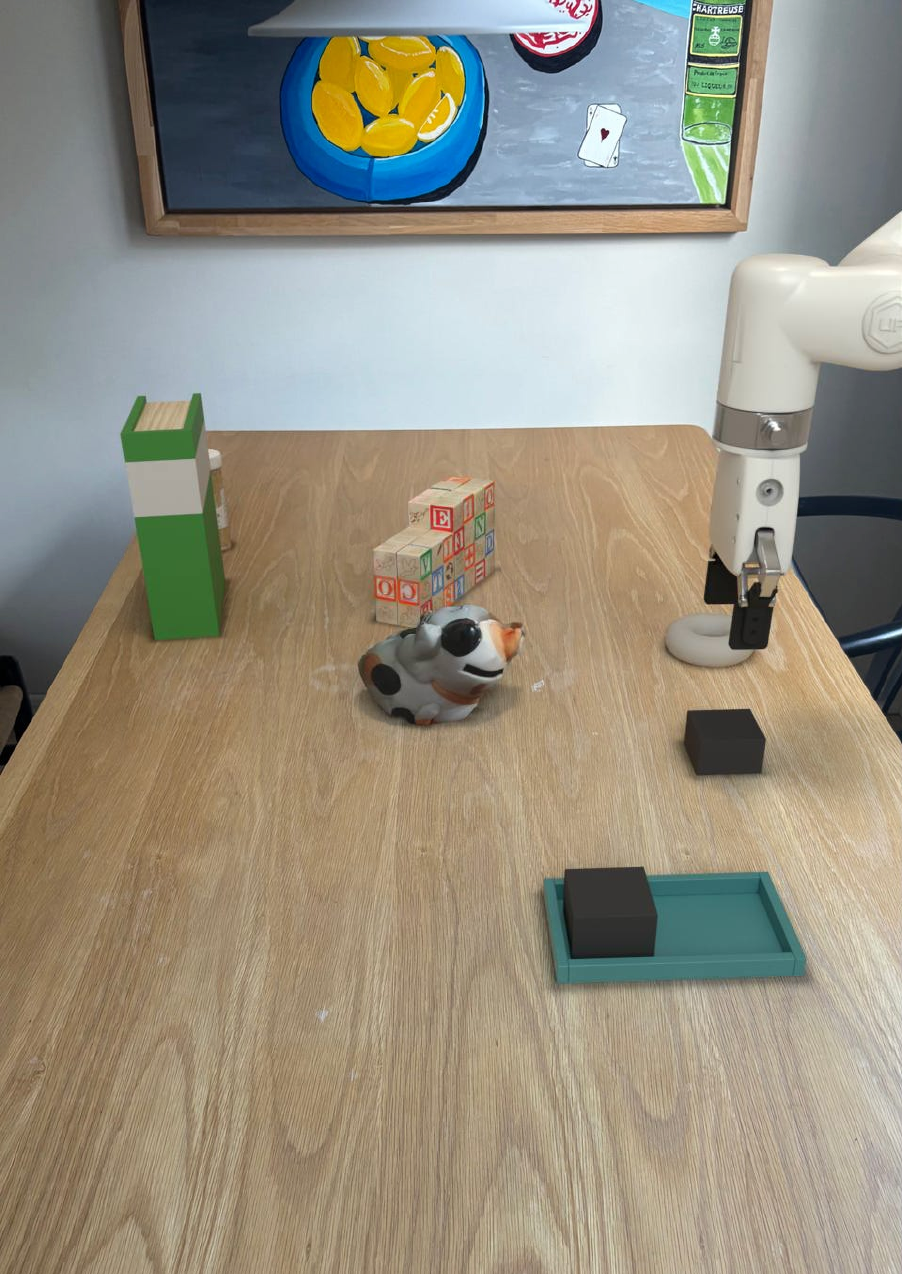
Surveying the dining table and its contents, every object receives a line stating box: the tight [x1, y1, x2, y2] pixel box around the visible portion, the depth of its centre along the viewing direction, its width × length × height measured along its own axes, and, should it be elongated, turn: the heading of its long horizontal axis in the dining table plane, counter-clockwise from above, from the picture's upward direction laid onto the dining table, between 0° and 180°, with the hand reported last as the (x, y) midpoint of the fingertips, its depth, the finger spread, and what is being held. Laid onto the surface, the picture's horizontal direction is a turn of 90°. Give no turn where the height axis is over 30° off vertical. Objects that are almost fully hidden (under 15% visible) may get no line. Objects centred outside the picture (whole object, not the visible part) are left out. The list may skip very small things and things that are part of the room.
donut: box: [664, 612, 755, 668], centre depth 128 cm, size 10×4×10 cm
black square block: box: [683, 708, 767, 776], centre depth 108 cm, size 6×6×4 cm
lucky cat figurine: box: [357, 603, 527, 727], centre depth 116 cm, size 15×12×14 cm
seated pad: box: [563, 866, 658, 959], centre depth 85 cm, size 6×6×4 cm
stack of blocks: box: [372, 475, 496, 629], centre depth 142 cm, size 21×6×12 cm, turn 154°
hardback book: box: [120, 392, 226, 641], centre depth 136 cm, size 18×7×24 cm, turn 7°
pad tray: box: [542, 871, 808, 984], centre depth 86 cm, size 18×11×2 cm, turn 91°
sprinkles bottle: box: [208, 448, 232, 552], centre depth 158 cm, size 5×5×14 cm
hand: (733, 624), depth 101 cm, fingers open, 9 cm apart
